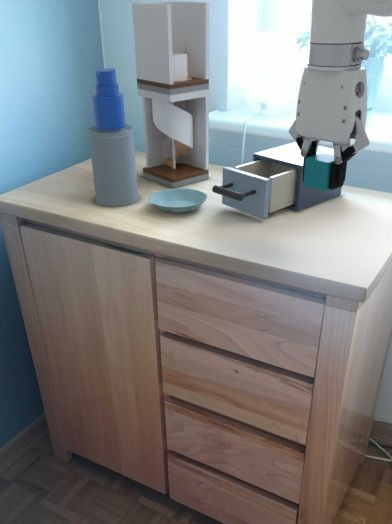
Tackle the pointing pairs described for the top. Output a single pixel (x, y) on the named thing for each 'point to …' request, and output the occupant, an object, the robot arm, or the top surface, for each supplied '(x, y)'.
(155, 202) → the saucer
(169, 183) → the spiral staircase model
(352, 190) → the top surface
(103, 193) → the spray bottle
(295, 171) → the drawer
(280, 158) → the mini chest of drawers
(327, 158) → the cube
